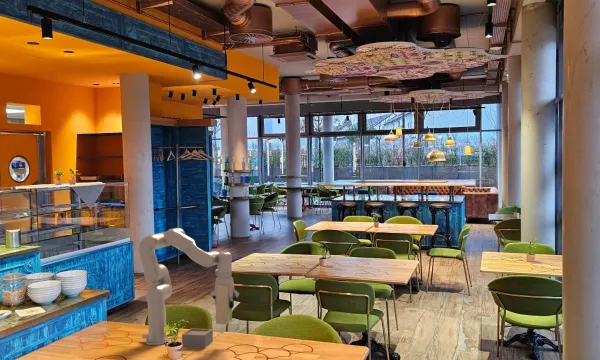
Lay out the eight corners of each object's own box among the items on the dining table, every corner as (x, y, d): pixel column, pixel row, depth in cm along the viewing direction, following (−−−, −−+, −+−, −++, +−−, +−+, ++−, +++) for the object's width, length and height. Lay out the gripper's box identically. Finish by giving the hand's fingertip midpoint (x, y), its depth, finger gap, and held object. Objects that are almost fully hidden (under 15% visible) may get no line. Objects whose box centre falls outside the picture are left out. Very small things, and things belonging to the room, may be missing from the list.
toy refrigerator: (228, 324, 276) (228, 285, 276) (215, 323, 277) (215, 284, 277) (233, 320, 284) (233, 282, 284) (220, 320, 285) (220, 282, 285)
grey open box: (182, 347, 278) (182, 334, 278) (190, 340, 290) (190, 328, 290) (205, 347, 276) (205, 335, 276) (212, 341, 288) (212, 329, 288)
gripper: (206, 276, 279) (206, 309, 278) (238, 276, 276) (238, 310, 275) (211, 273, 286) (211, 305, 286) (242, 274, 283) (242, 307, 283)
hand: (224, 307), depth 280 cm, fingers closed on toy refrigerator, 7 cm apart
